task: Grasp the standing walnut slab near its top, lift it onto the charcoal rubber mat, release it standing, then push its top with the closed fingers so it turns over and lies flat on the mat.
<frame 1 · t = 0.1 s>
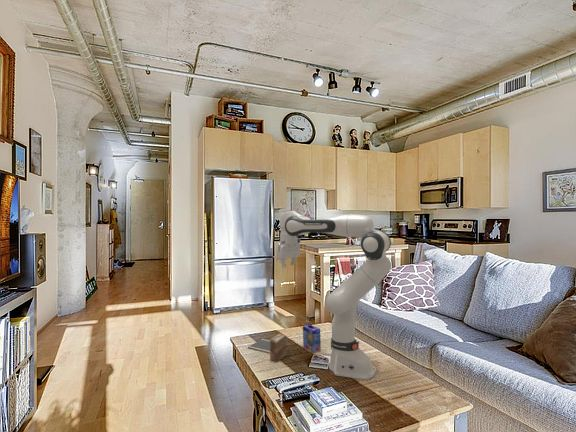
hand: (288, 266, 177), 48 cm above the table, fingers open, 8 cm apart
slab: (278, 358, 173), on the table
mat: (266, 346, 189), on the table
ink cartridge box: (311, 349, 186), on the table
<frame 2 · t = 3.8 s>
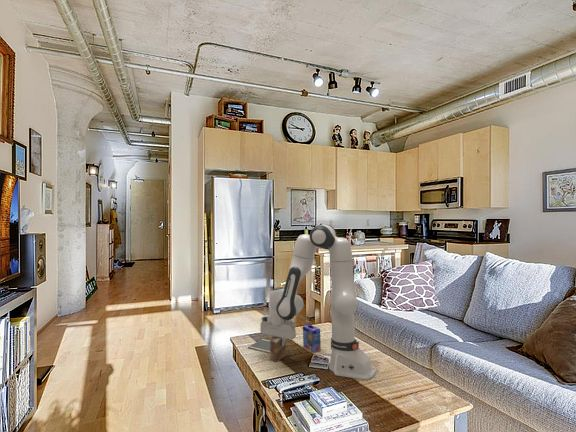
hand: (277, 344, 174), 7 cm above the table, fingers closed on slab, 4 cm apart
slab: (278, 358, 173), on the table, touching gripper
everything else where it was.
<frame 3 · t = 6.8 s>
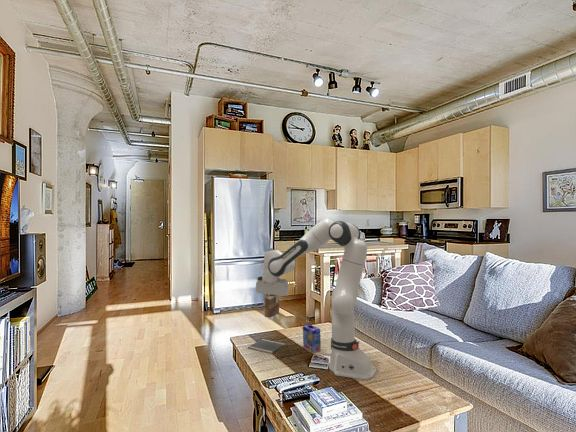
hand: (272, 302, 187), 26 cm above the table, fingers closed on slab, 4 cm apart
slab: (272, 314, 187), point 19 cm above the table, touching gripper
everything else where it was.
when the fingers open (9 cm above the table, at t = 10.1 s): slab stays where it is, resting on mat.
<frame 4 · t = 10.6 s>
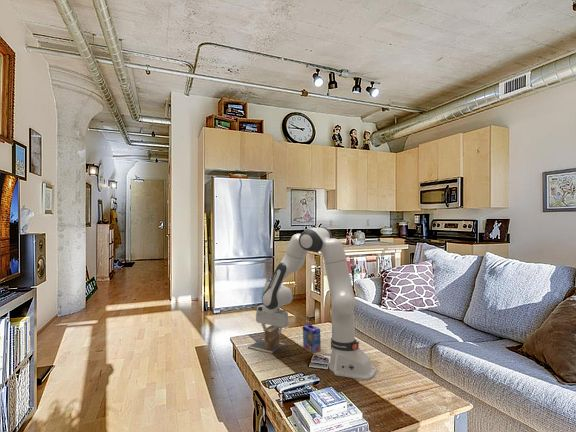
hand: (272, 332, 187), 9 cm above the table, fingers open, 8 cm apart
slab: (272, 346, 187), point 1 cm above the table, touching mat
everything else where it was.
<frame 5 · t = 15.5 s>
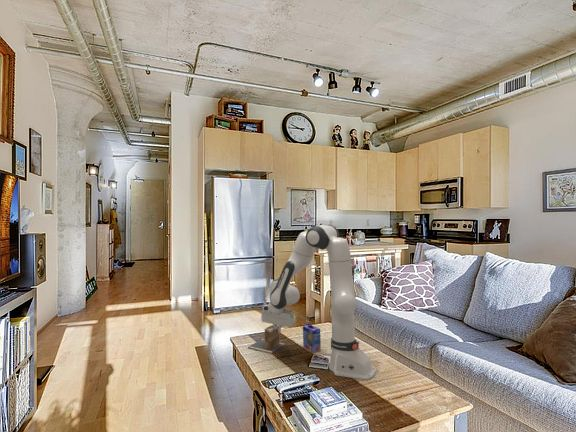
hand: (277, 332, 185), 10 cm above the table, fingers closed
slab: (272, 346, 187), point 1 cm above the table, touching gripper, mat
everything else where it was.
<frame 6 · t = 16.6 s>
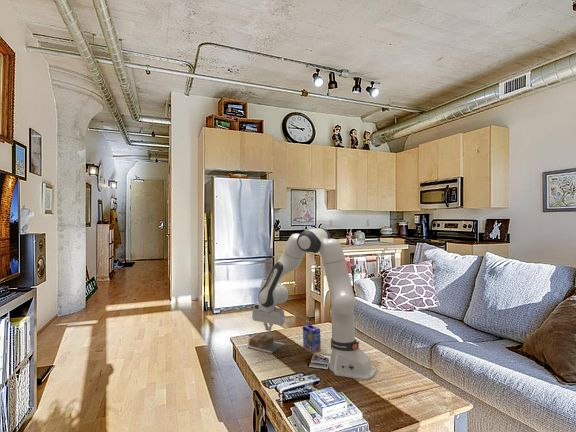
hand: (268, 330, 188), 10 cm above the table, fingers closed
slab: (269, 342, 188), point 3 cm above the table, tilted 90°, touching mat
everything else where it was.
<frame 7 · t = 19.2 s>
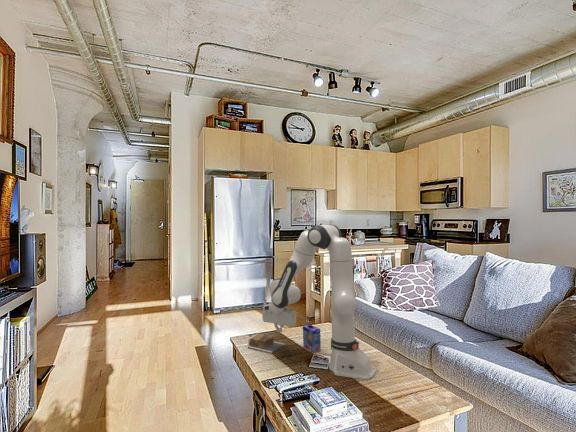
hand: (279, 331, 185), 10 cm above the table, fingers closed
nothing on the table moved.
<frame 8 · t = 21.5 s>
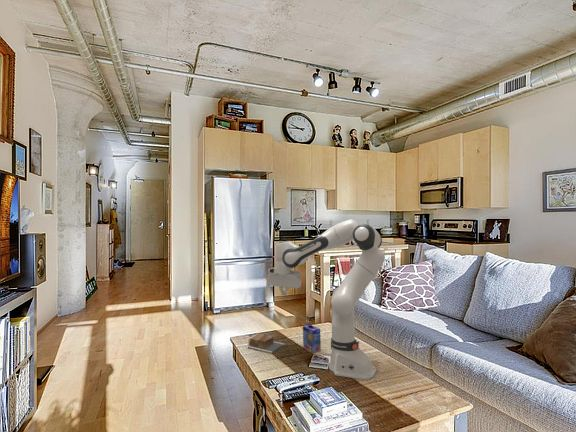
hand: (283, 294, 183), 31 cm above the table, fingers closed
nothing on the table moved.
at the end: slab tilted 90°; slab inside the target area (7.5 cm from its centre), point 2.8 cm above the table; the gripper is holding nothing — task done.
